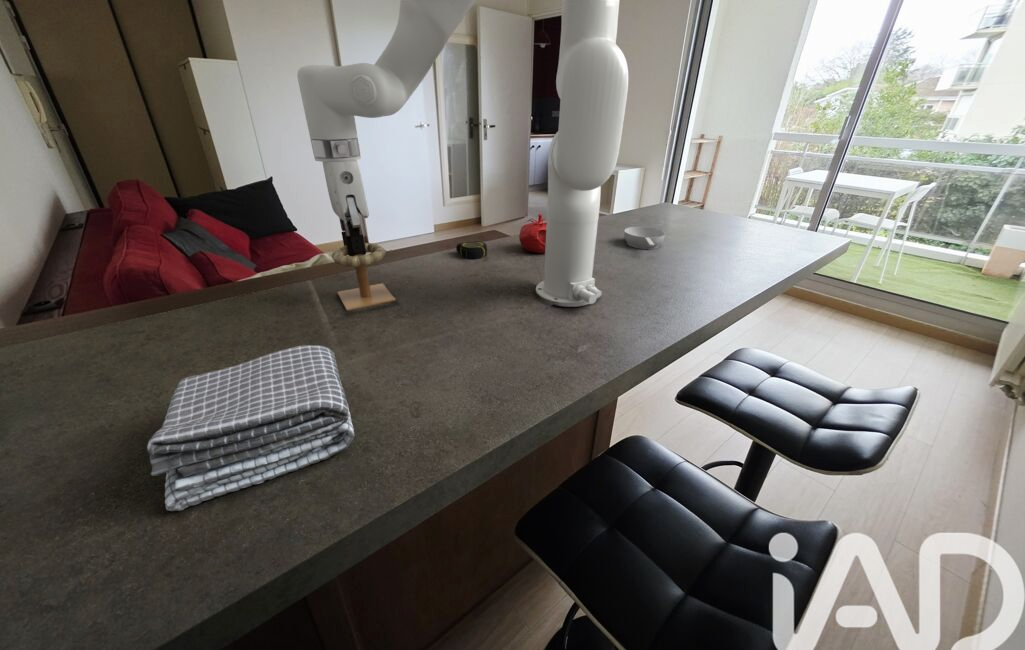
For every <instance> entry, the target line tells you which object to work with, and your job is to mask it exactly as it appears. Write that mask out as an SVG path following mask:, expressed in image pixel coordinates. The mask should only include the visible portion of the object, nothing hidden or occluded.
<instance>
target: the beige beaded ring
mask: <svg viewBox="0 0 1025 650" xmlns="http://www.w3.org/2000/svg"><path fill="white" fill-rule="evenodd" d="M364 243H365V249H366V253H368V254H365V255H362V256H349V255H348V251H347V246H344V245H343V246H340V247H338V248H337V249H335V250H334V251H333V252H332V254H331V258H332V260H333V261H334V263H335V264H336V265H339V266H343V267H352V268H353V267H354V268H355V267H356V266H365V265H366V266H369V265H374V264H376V263H378V262H380V261H382V260H383V259H384V257H385V255H386V249H385V248H384V247H383V246H382V245H380V244H378V243H372V242H364Z"/></svg>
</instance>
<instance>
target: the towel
mask: <svg viewBox="0 0 1025 650" xmlns="http://www.w3.org/2000/svg"><path fill="white" fill-rule="evenodd" d="M335 354H336V353H335V352H334V351H333V350H332V349H331V348H329V347H327V346H325V345H317V344H316V345H315V344H314V345H313V344H310V345H306V344H303V345H297V346H292V347H290V348H284V349H281V350H278V351H274V352H271V353H267V354H264V355H261V356H259V357H256V358H252V359H251V360H248V361H245V362H242V363H239V364H235V365H232V366H228V367H223V368H221V369H217V370H211V371H209V372H204V373H203V372H202V373H200V374H193V375H190V376H187V377H184V378H182V379H180V380H179V381H178V382H177V386H175V389H174V391H173V395H172V397H171V399H170V401H169V405H168V407H167V410H166V414H165V416H164V420H163V422H162V426H161V427H160V428H159V429H158V430H156V432H155V433H154V434H153V435H152V436H151V437H150V438H149V439H148V443H147V445H146V450H147V452H148V454H149V463H150V464H151V472H150V475H151V476H153V477H158V476H162V475H164V474H166V475H165V483H164V490H165V491H164V498H165V500H164V504H165V505H164V506H165V510H166V511H169V512H180V511H184V510H185V509H187V508H189V507H191V506H196V505H199V504H201V503H202V502H204V501H209V500H212V499H214V498H216V497H221V496H224V495H227V494H228V493H232V492H233V493H234V492H237V491H240V490H241V489H245V488H246V489H247V488H249V487H251V486H253V485H259V484H262V483H264V482H265V481H269V480H272V479H275V478H278V477H280V476H284V475H287V474H288V473H291V472H296V471H298V470H300V469H303V468H306V467H308V466H310V465H313V464H316V463H319V462H321V461H325V460H327V459H329V458H331V457H332V456H334V455H335V454H338V453H341V452H342V451H344V450H346V449H347V448H348V447H349V446H350V445H351V443H352V441H354V438H355V432H354V431H355V428H354V425H353V423H352V421H353V420H352V416H351V412H350V409H349V404H348V400H347V397H346V391H345V389H344V386H343V385H342V381H341V379H340V371H339V368H338V364H337V360H336V356H335Z"/></svg>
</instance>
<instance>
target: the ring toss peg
mask: <svg viewBox="0 0 1025 650" xmlns="http://www.w3.org/2000/svg"><path fill="white" fill-rule="evenodd" d="M362 255H363V254H357V255H354V256H362ZM354 269H355V273H356V274H355V275H356V279H357V286H358V287H356V288H351V289H345V290H340V291H337V295H338V298H339V300H340V301H341V303H342V304H343V306H344V308H345V310H346V312H349V311H353V310H358V309H362V308H367V307H372V306H376V305H382V304H387V303H390V302H396V298H395V297H394V295H393V294H392V293H391V292H390V290H389V289H388V288H387V287H386V286H385V284H384V283H383V282H382V283H376V284H371V285H370V280H369V273H368V268H367V265H365V266H356V267H354Z"/></svg>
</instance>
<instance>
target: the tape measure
mask: <svg viewBox="0 0 1025 650" xmlns="http://www.w3.org/2000/svg"><path fill="white" fill-rule="evenodd" d="M455 249H456V250H455V251H456V253H457V254H458V255H459V256H461V258H463V259H466V260H479V259H483V258H485V257H487V256H488V245H487V243H486V242H484V241H477V240H474V241H473V240H472V241H465V242H459V243H457V244H456V246H455Z"/></svg>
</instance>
